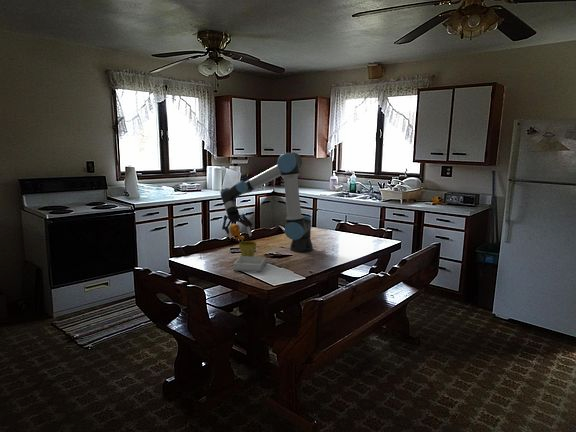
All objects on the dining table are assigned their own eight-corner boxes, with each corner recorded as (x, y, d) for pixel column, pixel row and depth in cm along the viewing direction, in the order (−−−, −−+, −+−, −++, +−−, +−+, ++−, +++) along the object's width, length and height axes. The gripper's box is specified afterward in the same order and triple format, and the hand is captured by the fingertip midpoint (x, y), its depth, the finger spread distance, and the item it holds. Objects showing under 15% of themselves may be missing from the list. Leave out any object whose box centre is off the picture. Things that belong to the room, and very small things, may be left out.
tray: (266, 264, 237) (266, 257, 236) (260, 272, 222) (260, 265, 221) (240, 262, 239) (240, 255, 239) (233, 270, 224) (233, 263, 223)
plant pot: (249, 261, 241) (249, 245, 239) (235, 258, 246) (235, 243, 245) (259, 257, 250) (259, 242, 248) (246, 255, 255) (246, 240, 253)
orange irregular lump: (232, 242, 287) (232, 226, 285) (226, 240, 292) (226, 224, 290) (244, 240, 293) (244, 224, 291) (239, 238, 299) (239, 222, 297)
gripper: (247, 211, 271) (257, 237, 261) (211, 214, 259) (220, 242, 249) (250, 204, 266) (260, 231, 256) (214, 207, 253) (223, 235, 243)
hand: (241, 236), depth 252 cm, fingers open, 13 cm apart
